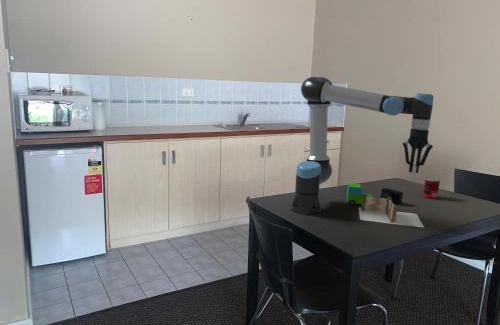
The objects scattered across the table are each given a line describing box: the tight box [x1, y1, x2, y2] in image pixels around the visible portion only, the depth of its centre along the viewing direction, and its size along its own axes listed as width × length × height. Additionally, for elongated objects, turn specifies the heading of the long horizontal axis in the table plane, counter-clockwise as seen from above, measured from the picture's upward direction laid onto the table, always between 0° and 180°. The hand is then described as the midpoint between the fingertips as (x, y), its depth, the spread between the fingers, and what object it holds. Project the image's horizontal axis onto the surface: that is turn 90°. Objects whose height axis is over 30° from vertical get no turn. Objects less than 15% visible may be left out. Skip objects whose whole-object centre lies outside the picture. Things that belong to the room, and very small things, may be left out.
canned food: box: [422, 176, 441, 200], centre depth 226 cm, size 8×8×11 cm
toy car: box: [346, 182, 374, 205], centre depth 207 cm, size 10×13×10 cm
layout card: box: [358, 206, 425, 228], centre depth 188 cm, size 28×19×1 cm
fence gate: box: [388, 200, 398, 222], centre depth 186 cm, size 13×2×7 cm, turn 171°
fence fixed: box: [360, 193, 392, 213], centre depth 194 cm, size 14×2×8 cm, turn 77°
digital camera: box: [380, 187, 404, 206], centre depth 212 cm, size 10×5×7 cm, turn 43°
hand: (412, 179), depth 180 cm, fingers closed
